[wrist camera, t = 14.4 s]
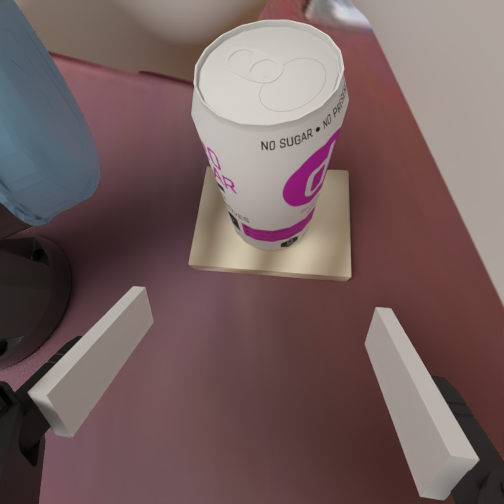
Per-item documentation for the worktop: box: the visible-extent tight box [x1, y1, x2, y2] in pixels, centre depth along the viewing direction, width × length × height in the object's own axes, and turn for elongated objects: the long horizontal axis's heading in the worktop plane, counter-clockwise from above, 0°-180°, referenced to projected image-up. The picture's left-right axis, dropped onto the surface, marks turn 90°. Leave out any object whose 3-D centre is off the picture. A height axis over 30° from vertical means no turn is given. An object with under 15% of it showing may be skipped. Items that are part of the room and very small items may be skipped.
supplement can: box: [191, 20, 349, 251], centre depth 18 cm, size 8×8×15 cm
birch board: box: [188, 166, 351, 282], centre depth 26 cm, size 16×12×2 cm
